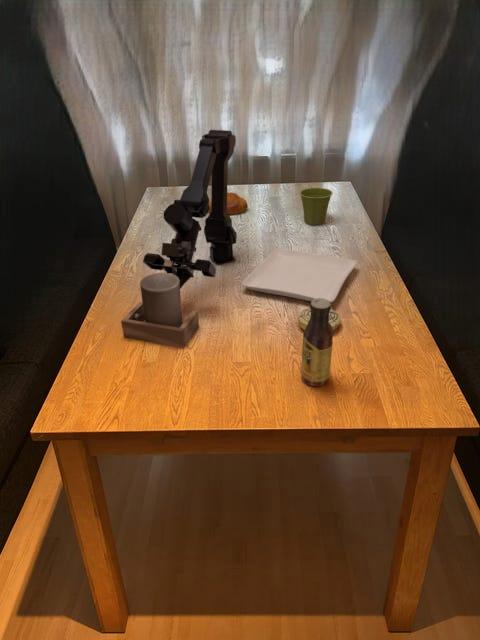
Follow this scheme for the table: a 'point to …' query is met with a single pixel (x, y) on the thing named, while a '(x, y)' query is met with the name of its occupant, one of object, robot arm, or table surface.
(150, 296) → the pillar candle
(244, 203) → the croissant
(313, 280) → the square plate
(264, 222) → the table surface
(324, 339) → the sauce bottle
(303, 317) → the decorated donut
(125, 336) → the holder
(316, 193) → the plant pot
